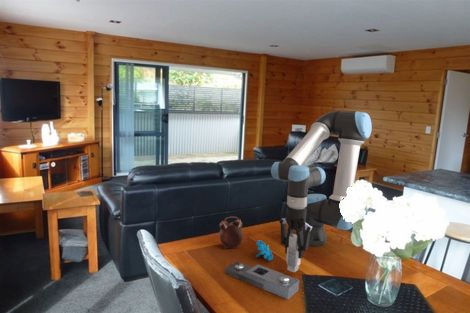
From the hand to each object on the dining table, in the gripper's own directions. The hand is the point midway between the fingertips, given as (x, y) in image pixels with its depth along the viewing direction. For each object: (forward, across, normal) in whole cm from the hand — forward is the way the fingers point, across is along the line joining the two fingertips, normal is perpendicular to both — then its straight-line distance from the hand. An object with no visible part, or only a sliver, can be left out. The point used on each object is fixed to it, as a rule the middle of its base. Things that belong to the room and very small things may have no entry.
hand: (293, 263), depth 136 cm
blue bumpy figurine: (+5, -17, +5) cm, 18 cm away
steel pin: (+3, 0, 0) cm, 3 cm away
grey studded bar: (+5, -7, -12) cm, 15 cm away
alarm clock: (+5, -34, +4) cm, 35 cm away
